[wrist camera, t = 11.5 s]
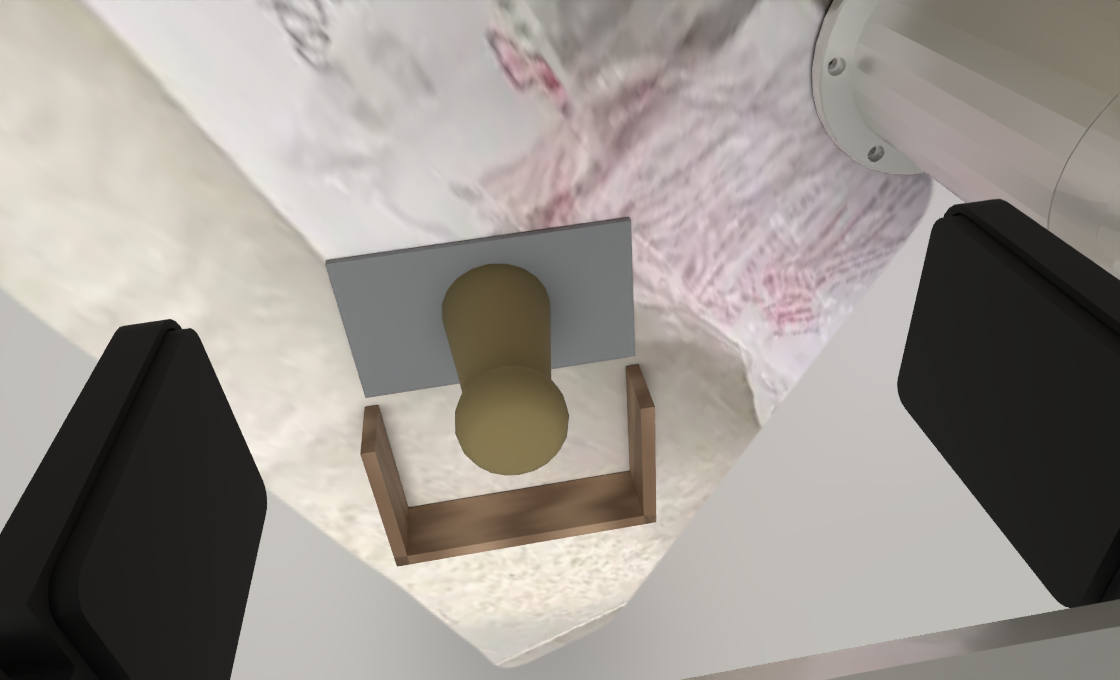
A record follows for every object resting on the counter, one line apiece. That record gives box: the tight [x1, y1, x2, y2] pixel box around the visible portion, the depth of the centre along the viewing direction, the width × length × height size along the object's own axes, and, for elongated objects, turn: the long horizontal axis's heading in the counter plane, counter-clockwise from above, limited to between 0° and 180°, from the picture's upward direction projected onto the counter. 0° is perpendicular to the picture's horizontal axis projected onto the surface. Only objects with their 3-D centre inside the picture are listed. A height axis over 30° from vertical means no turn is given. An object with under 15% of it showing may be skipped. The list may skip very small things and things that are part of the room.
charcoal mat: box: [325, 217, 635, 398], centre depth 43 cm, size 16×9×1 cm, turn 95°
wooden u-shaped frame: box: [360, 365, 656, 566], centre depth 47 cm, size 17×10×4 cm, turn 95°
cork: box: [442, 264, 569, 475], centre depth 38 cm, size 6×6×11 cm
